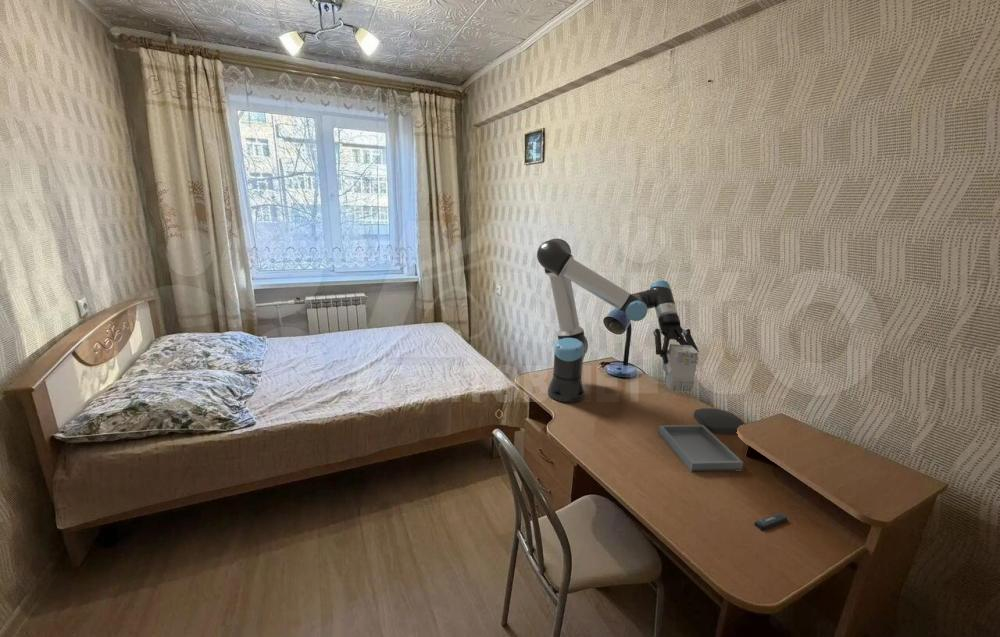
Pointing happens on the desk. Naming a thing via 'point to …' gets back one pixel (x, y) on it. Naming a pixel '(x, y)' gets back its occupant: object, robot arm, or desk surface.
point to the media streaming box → (718, 420)
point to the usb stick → (770, 521)
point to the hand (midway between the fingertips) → (682, 371)
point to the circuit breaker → (681, 368)
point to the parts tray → (699, 448)
